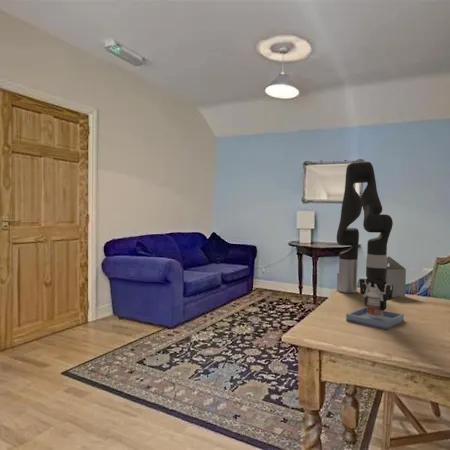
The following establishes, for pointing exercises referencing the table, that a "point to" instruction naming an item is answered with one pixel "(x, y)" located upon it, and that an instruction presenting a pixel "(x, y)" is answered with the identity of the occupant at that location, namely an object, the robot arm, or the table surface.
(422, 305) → the table surface
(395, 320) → the tray
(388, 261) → the planter
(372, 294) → the pill bottle
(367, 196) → the robot arm
